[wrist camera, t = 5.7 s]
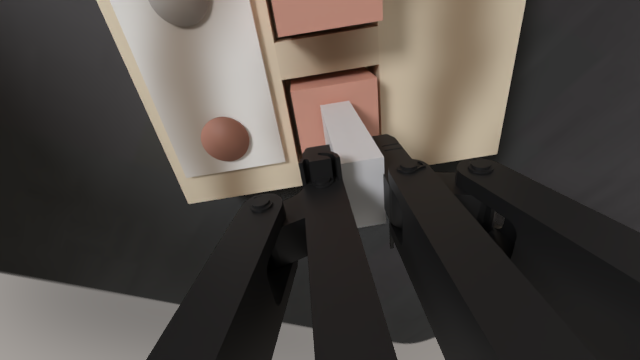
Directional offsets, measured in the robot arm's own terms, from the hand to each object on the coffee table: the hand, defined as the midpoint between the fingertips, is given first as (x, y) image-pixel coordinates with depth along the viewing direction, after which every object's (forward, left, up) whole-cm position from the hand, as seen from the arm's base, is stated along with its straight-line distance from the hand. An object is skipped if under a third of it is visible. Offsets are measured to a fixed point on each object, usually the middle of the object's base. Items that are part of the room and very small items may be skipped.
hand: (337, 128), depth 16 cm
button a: (0, 0, -4) cm, 4 cm away
